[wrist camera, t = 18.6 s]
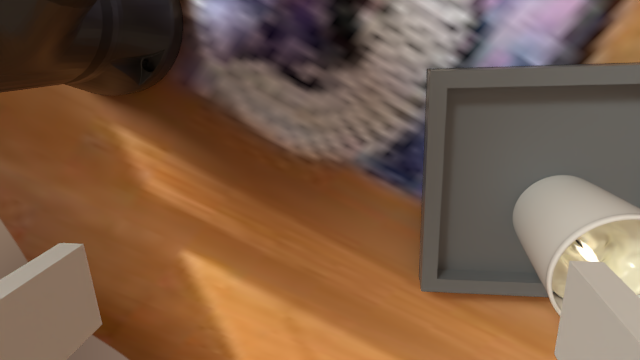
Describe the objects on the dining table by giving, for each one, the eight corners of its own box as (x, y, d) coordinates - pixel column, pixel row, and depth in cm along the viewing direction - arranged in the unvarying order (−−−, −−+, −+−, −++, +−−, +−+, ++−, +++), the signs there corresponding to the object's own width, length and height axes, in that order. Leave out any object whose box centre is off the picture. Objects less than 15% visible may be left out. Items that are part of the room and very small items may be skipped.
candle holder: (481, 215, 42) (518, 280, 30) (563, 144, 38) (638, 187, 27) (550, 277, 43) (610, 362, 31) (635, 213, 39) (736, 282, 28)
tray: (418, 275, 46) (421, 291, 43) (427, 69, 39) (430, 71, 36) (640, 285, 43) (658, 302, 40) (690, 61, 36) (716, 62, 33)
